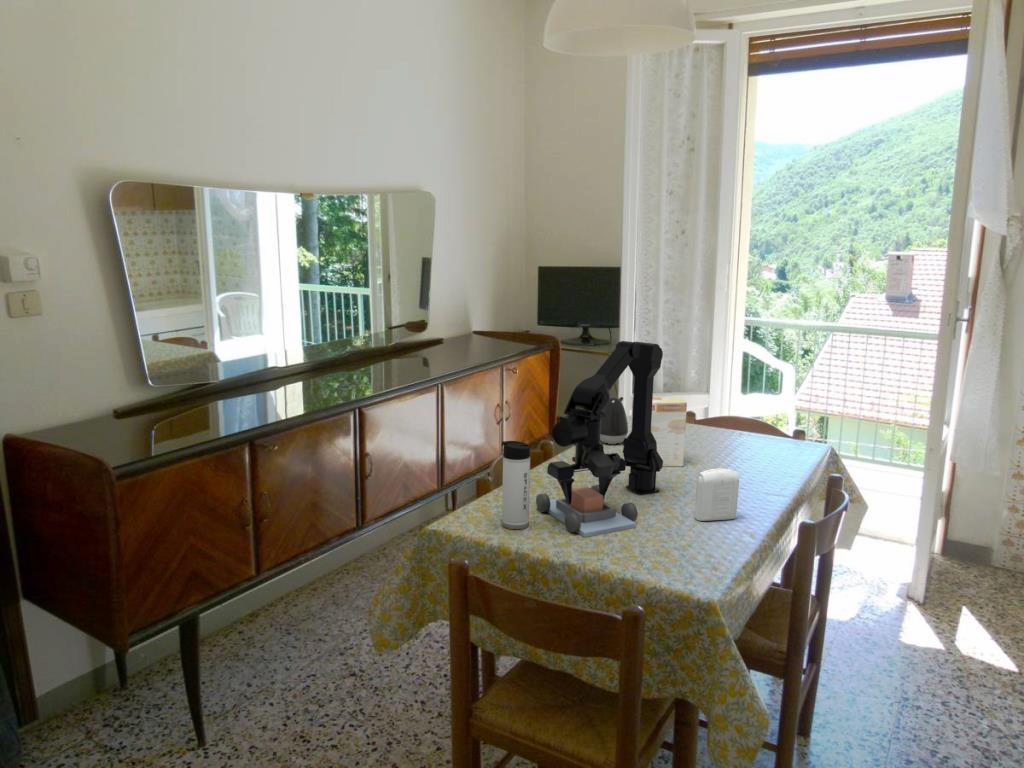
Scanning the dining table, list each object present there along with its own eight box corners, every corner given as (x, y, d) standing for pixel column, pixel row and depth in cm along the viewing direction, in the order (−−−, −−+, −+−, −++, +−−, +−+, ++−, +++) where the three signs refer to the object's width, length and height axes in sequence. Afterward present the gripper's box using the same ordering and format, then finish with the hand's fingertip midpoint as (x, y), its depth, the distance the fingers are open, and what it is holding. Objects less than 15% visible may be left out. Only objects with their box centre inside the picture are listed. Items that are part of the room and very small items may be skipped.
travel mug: (499, 520, 179) (500, 438, 176) (527, 519, 180) (529, 438, 176) (501, 530, 173) (502, 446, 169) (530, 529, 174) (531, 445, 170)
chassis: (591, 496, 196) (591, 480, 195) (641, 526, 177) (642, 508, 176) (532, 506, 189) (532, 489, 188) (578, 538, 169) (579, 519, 169)
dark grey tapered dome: (633, 442, 248) (635, 396, 245) (616, 448, 241) (618, 401, 238) (607, 436, 255) (609, 392, 252) (589, 442, 247) (591, 396, 244)
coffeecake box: (678, 460, 230) (681, 397, 226) (684, 467, 223) (687, 402, 219) (628, 459, 229) (631, 396, 225) (633, 467, 222) (636, 401, 218)
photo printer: (730, 513, 186) (733, 465, 184) (739, 519, 182) (742, 470, 179) (691, 516, 184) (694, 467, 181) (699, 523, 180) (702, 473, 177)
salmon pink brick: (586, 506, 187) (587, 486, 186) (602, 515, 181) (603, 495, 180) (569, 509, 185) (569, 489, 184) (584, 518, 178) (585, 498, 177)
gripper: (571, 451, 168) (569, 518, 171) (640, 442, 176) (637, 506, 179) (546, 439, 178) (545, 502, 181) (613, 430, 186) (611, 491, 189)
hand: (585, 500), depth 182 cm, fingers open, 9 cm apart
